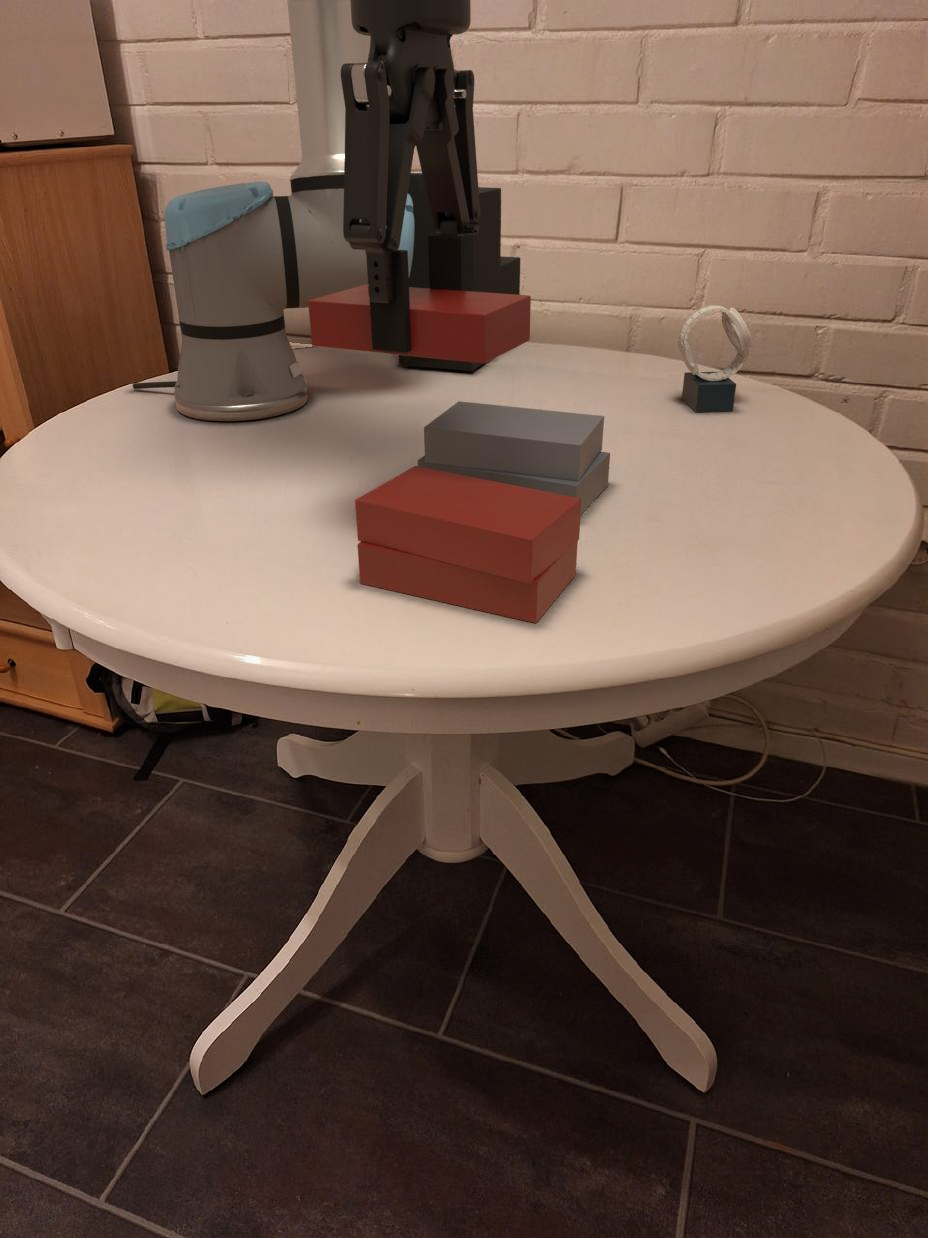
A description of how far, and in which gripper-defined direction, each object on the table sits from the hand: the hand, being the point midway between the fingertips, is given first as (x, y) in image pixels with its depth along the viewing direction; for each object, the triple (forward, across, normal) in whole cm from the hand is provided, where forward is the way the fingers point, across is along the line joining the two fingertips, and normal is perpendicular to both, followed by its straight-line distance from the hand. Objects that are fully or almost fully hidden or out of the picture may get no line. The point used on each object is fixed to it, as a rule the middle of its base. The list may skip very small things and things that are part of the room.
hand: (421, 337), depth 67 cm
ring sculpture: (+16, +46, -12) cm, 50 cm away
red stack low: (+16, -6, -6) cm, 18 cm away
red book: (0, 0, 0) cm, 0 cm away
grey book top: (+13, +12, -2) cm, 18 cm away
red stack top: (+13, -6, -6) cm, 15 cm away
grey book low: (+16, +12, -2) cm, 20 cm away
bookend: (+15, +58, +25) cm, 65 cm away
